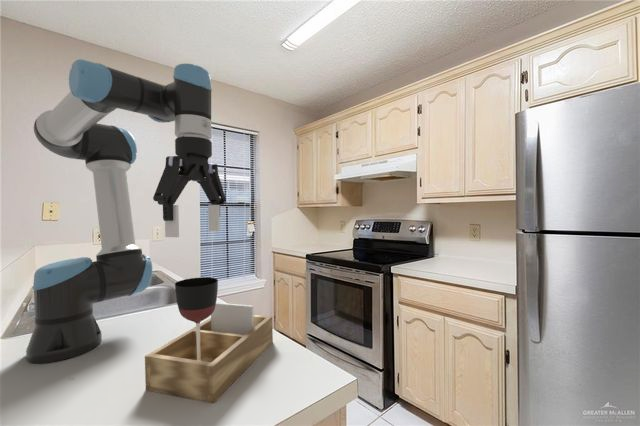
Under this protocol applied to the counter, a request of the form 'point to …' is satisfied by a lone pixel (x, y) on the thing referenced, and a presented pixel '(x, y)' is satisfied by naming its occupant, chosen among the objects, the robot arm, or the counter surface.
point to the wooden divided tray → (205, 361)
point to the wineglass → (196, 301)
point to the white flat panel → (232, 318)
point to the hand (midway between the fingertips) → (195, 234)
